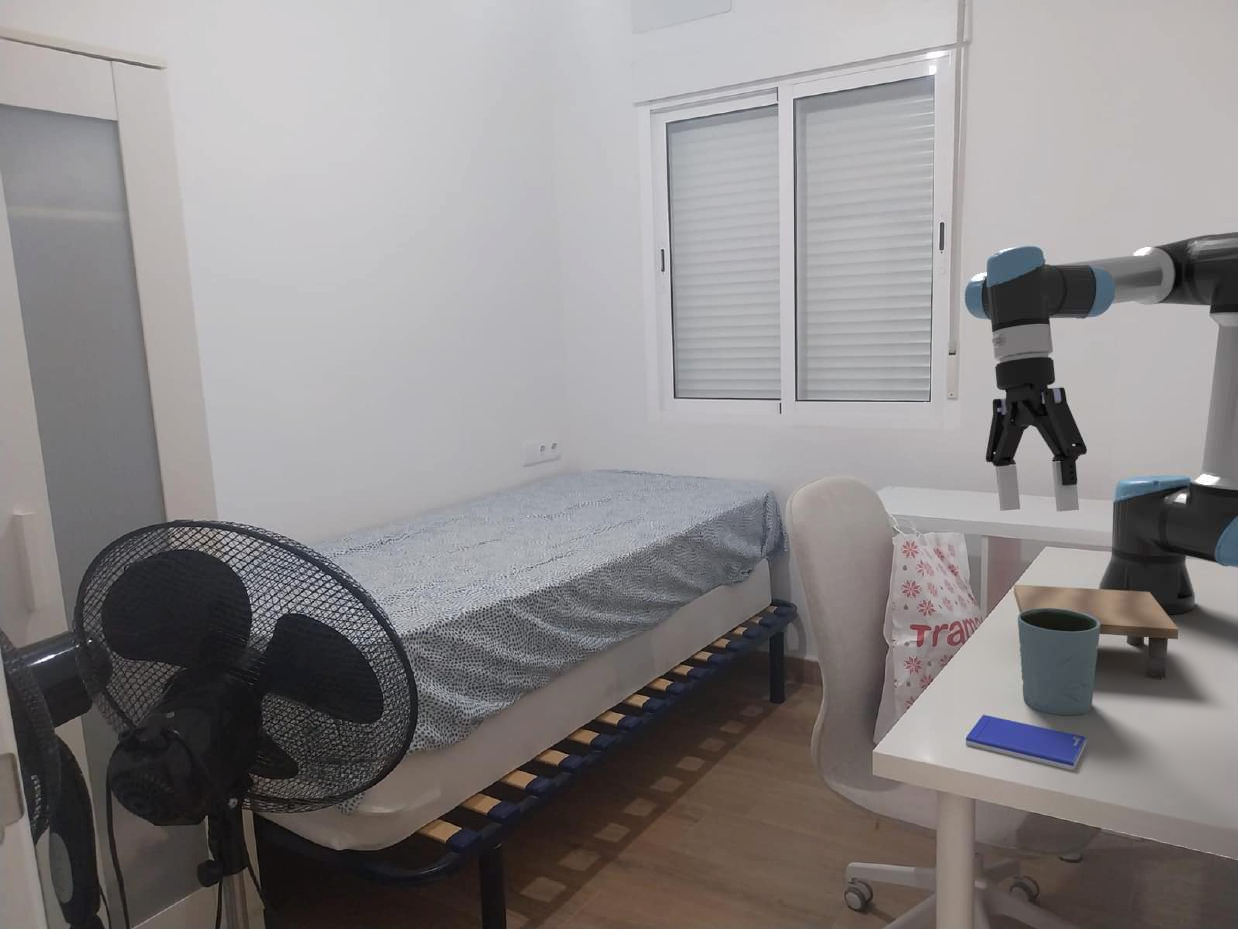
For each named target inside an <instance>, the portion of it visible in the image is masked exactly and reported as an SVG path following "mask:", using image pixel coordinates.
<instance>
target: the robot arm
mask: <svg viewBox="0 0 1238 929" xmlns="http://www.w3.org/2000/svg"><path fill="white" fill-rule="evenodd" d="M964 291H965V292H964V302H965V303H964V304H965V307H966V309H967V311H968V312H969V313H970V314H971V315H972V316H973V317H974V318H978V319H981V320H989V321H990V322H991V332H992V339H991V343H992V344H993V352H994V353H993V354H994V360H996V361H999V362H998V363H997V364H996V365H995V366H994V369H995V370H994V371H995V380H996V387H997V389H998V390H1000V391H1005V398H994V399H993V400H992V418H991V423H990V430H989V436H988V440H987V441H988V442H987V448H986V453H985V461H986V462H987V463H991V464H992V465H993V466H994V467H995V470H996V479H997V481H996V482H997V488H998V490H997V491H998V497H999V501H998V502H999V510H1000V511H1003V512H1005V511H1012V510H1013V511H1015V510H1020V509H1021V504H1020V502H1021V501H1020V493H1019V482H1018V470H1017V462H1016V461H1015V459H1014V458H1015V457H1016V453H1017V451H1018V450H1017V449H1018V448H1019V445H1020V442H1021V440H1022V437H1023V434H1024V431H1025V430H1027V429H1028V428H1029V427H1030V426H1031V427H1035V428H1036V429H1037V431H1038V433H1039V435H1040V436H1041V438H1042V439H1043V441H1044V442H1045V444H1046V445H1047V447H1048V448H1049V450H1050V451H1051V453H1052V455H1053V457H1052V460H1051V461H1052V462H1051V463H1052V476H1053V485H1054V486H1053V487H1054V496H1055V506H1056V507H1055V508H1056V512H1068V511H1079V510H1080V506H1079V495H1078V474H1077V462H1076V461H1077V460H1078V459H1079V457H1081V456H1082V455H1086V454H1087V451H1088V449H1087V445H1086V444H1085V441H1084V439H1083V437H1082V434H1081V432H1080V430H1079V426H1078V425H1077V423H1076V420H1075V418H1074V416H1073V414H1072V411H1071V408H1070V406H1069V404H1068V400H1067V393H1066V390H1065V388H1064V387H1062V386H1061V387H1050V388H1049V386H1051V385H1053V384H1054V383H1055V382H1056V375H1055V374H1056V373H1055V366H1054V365H1055V364H1054V359H1052V357H1049V355H1051V354H1052V353H1053V352H1054V350H1053V349H1054V348H1053V340H1052V331H1051V321H1050V319H1077V320H1078V319H1082V320H1083V319H1084V320H1085V319H1086V318H1095V317H1099V316H1100V315H1102V314H1104V313H1105V312H1106V311H1108V310H1109V309H1110V307H1111V305H1113V304H1120V303H1127V302H1135V303H1137V304H1140V305H1144V306H1147V305H1150V306H1151V305H1156V304H1157V305H1158V304H1159V305H1160V304H1167V305H1168V304H1171V305H1172V304H1173V305H1174V304H1176V305H1185V306H1186V305H1187V306H1188V305H1191V306H1209V317H1210V318H1211V319H1212V320H1213V321H1214V322H1216V324H1217V326H1218V333H1217V342H1216V348H1215V349H1216V350H1215V351H1216V352H1215V359H1214V366H1213V367H1214V368H1213V376H1212V384H1211V393H1210V401H1209V409H1208V416H1207V417H1208V419H1207V425H1206V434H1205V435H1206V436H1205V440H1204V441H1205V442H1204V443H1205V444H1204V449H1203V450H1204V452H1203V458H1202V468H1201V471H1200V472H1198V473H1197V474H1196V475H1195V476H1193V477H1192V478H1190V477H1188V476H1186V475H1185V476H1184V475H1147V476H1146V475H1145V476H1136V477H1135V476H1134V477H1128V478H1123V479H1121V480H1120V481H1118V482H1117V483H1116V486H1115V489H1114V491H1115V492H1114V499H1113V501H1112V504H1113V507H1112V508H1113V509H1112V533H1111V534H1112V537H1111V539H1112V540H1111V556H1110V560H1109V561H1108V564H1107V567H1106V568H1105V571H1104V573H1103V575H1102V578H1101V580H1100V582H1099V586H1098V589H1104V590H1123V591H1141V592H1150V593H1151V595H1152V596H1153V597H1154V598H1155V600H1156V601H1157V602H1158V604H1159V605H1160V606H1161V607H1162V609H1163V610H1164V611H1165V613H1166V614H1167V615H1174V614H1175V615H1176V614H1183V613H1188V612H1190V611H1192V610H1193V609H1195V604H1196V603H1195V601H1196V600H1195V599H1196V595H1195V590H1194V587H1193V585H1192V581H1191V578H1190V575H1189V572H1188V568H1187V564H1186V562H1187V561H1186V560H1187V559H1186V558H1187V557H1189V558H1195V559H1198V560H1203V561H1207V562H1211V563H1214V564H1215V563H1216V564H1218V565H1220V566H1223V567H1232V568H1238V231H1235V232H1227V233H1219V234H1218V233H1216V234H1205V235H1199V236H1195V237H1190V238H1187V239H1182V240H1178V241H1175V242H1171V243H1166V244H1160V245H1156V246H1150V247H1149V246H1148V247H1144V248H1141V249H1138V250H1137V251H1135V252H1134V253H1132V255H1126V256H1123V255H1122V256H1118V257H1108V258H1099V259H1091V260H1082V261H1073V262H1066V263H1057V264H1056V263H1055V264H1046V259H1045V257H1044V252H1043V250H1042V249H1041V248H1040V247H1038V246H1034V245H1025V246H1024V245H1023V246H1022V245H1021V246H1014V247H1011V248H1006V249H1003V250H999V251H997V252H995V253H993V254H991V255H990V257H988V259H987V261H986V272H980V273H978V274H976V275H974V276H973V277H972V278H970V280H969V282H968V283H967V285H966V287H965V290H964Z"/></svg>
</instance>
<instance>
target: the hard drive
mask: <svg viewBox="0 0 1238 929" xmlns="http://www.w3.org/2000/svg"><path fill="white" fill-rule="evenodd" d="M1087 741H1088V737H1087V736H1083V735H1080V734H1074V733H1070V732H1065V731H1062V730H1061V731H1060V730H1056V729H1050V728H1046V727H1043V726H1037V725H1033V724H1029V723H1022V722H1019V721H1014V720H1010V719H1005V718H1002V717H1001V718H1000V717H996V716H990V715H986V714H982V716H981V717H980V718H979V720H978V721H977V722H976V723H975V725H974V726H973V728H971V729H970V731H969V733H968V734H967V735H966V737H965V745H968V746H972V747H975V748H979V749H983V750H989V751H991V752H996V753H1000V754H1004V755H1007V756H1008V755H1009V756H1013V757H1016V758H1020V759H1021V758H1022V759H1026V760H1029V761H1033V762H1037V763H1040V764H1046V765H1049V766H1054V767H1058V768H1062V769H1066V770H1071V771H1075V768H1076V767H1077V764H1078V762H1079V761H1080V758H1081V755H1082V753H1083V752H1084V750H1085V748H1086V747H1087V743H1088V742H1087Z"/></svg>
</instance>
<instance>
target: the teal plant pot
mask: <svg viewBox="0 0 1238 929" xmlns="http://www.w3.org/2000/svg"><path fill="white" fill-rule="evenodd" d="M1017 626H1018V627H1017V628H1018V637H1019V653H1020V654H1019V655H1020V656H1019V657H1020V666H1021V669H1020V670H1021V680H1022V695H1023V696H1022V697H1023V700H1024V702H1025V703H1026V705H1028V706H1029V707H1031V708H1033V709H1035V710H1037V711H1040V712H1042V713H1047V714H1052V715H1055V716H1078V714H1079V715H1083V714H1086V712H1087V713H1088V712H1090V711H1091V709H1092V706H1093V697H1094V686H1095V678H1096V666H1097V659H1098V646H1099V641H1100V635H1101V634H1100V626H1101V624H1100V622H1099V621H1098V620H1097V619H1096V618H1094V617H1093V616H1090V615H1088V614H1085V613H1081V612H1077V611H1072V610H1067V609H1055V608H1040V609H1031V610H1027V611H1024V612H1022V613H1020V612H1019V614H1018V616H1017Z"/></svg>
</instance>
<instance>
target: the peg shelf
mask: <svg viewBox="0 0 1238 929" xmlns="http://www.w3.org/2000/svg"><path fill="white" fill-rule="evenodd" d="M1013 594H1014V598H1015V601H1016V605H1017V608H1018V611H1019V614H1020V613H1022V612H1024V611H1027V610H1031V609H1040V608H1055V609H1067V610H1072V611H1077V612H1081V613H1085V614H1088V615H1090V616H1093V617H1094V618H1096V619H1097V620H1098V621H1099V622H1100V624H1101V626H1100V634H1099V635H1110V636H1111V635H1113V636H1124V637H1126V643H1127V644H1129V645H1131V644H1132V646H1144V644H1145V638H1148V640H1147V642H1148V644H1147V658H1146V663H1147V664H1146V674H1147V675H1146V676H1147V677H1148V676H1149V677H1148V678H1150V677H1151V678H1150V679H1154V678H1159V679H1158V680H1163V679H1162V678H1164V679H1166V675H1167V674H1166V671H1167V660H1168V659H1167V658H1168V657H1167V656H1168V642H1169V640H1170V639H1171V640H1179V628H1178V627H1177V625H1176V624H1175V623H1174V622H1173V620H1172V619H1171V617H1169V614H1166V613H1165V611H1164V610H1163V609H1162V607H1161V606H1160V605H1159V604H1158V602H1157V601H1156V600H1155V598H1154V597H1153V596H1152V595H1151V593H1150V592H1141V591H1123V590H1104V589H1099V588H1098V589H1097V588H1083V587H1081V588H1079V587H1065V586H1064V587H1063V586H1046V585H1045V586H1044V585H1027V584H1026V585H1025V584H1013Z"/></svg>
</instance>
